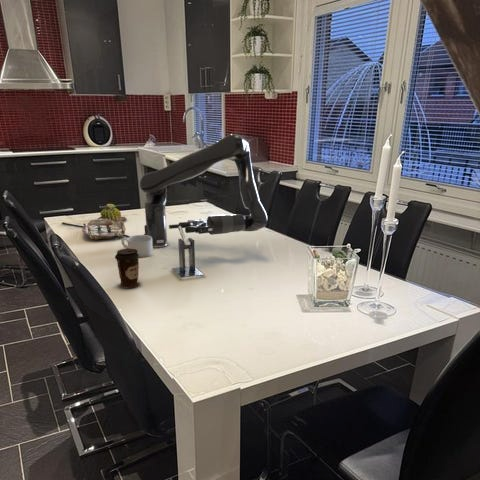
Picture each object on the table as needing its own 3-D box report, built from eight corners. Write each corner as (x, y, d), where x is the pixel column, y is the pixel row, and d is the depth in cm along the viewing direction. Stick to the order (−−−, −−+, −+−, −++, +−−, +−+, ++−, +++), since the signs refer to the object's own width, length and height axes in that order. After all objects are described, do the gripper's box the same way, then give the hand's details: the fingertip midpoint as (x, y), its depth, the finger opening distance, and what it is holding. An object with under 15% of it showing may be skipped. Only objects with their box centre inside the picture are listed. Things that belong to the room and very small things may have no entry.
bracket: (172, 271, 186) (170, 236, 180) (193, 268, 189) (192, 234, 183) (181, 280, 176) (179, 244, 170) (203, 277, 179) (202, 242, 173)
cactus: (122, 224, 260) (121, 206, 256) (94, 224, 260) (92, 206, 256) (129, 218, 275) (128, 201, 271) (102, 217, 275) (101, 200, 271)
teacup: (158, 254, 207) (157, 236, 204) (143, 260, 198) (142, 242, 195) (132, 250, 212) (131, 233, 209) (117, 256, 203) (115, 238, 200)
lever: (168, 227, 182) (169, 223, 180) (188, 226, 185) (188, 221, 183) (177, 250, 176) (177, 245, 174) (197, 247, 179) (198, 243, 177)
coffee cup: (146, 283, 172) (143, 249, 167) (134, 290, 165) (131, 255, 160) (125, 280, 175) (122, 246, 169) (113, 287, 168) (109, 252, 162)
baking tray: (131, 240, 228) (130, 229, 226) (84, 244, 221) (83, 232, 219) (121, 227, 254) (120, 217, 252) (80, 230, 246) (78, 219, 244)
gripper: (213, 211, 194) (176, 214, 188) (227, 218, 182) (187, 221, 176) (214, 229, 197) (177, 233, 191) (227, 237, 185) (188, 241, 179)
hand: (182, 227), depth 184 cm, fingers open, 8 cm apart
